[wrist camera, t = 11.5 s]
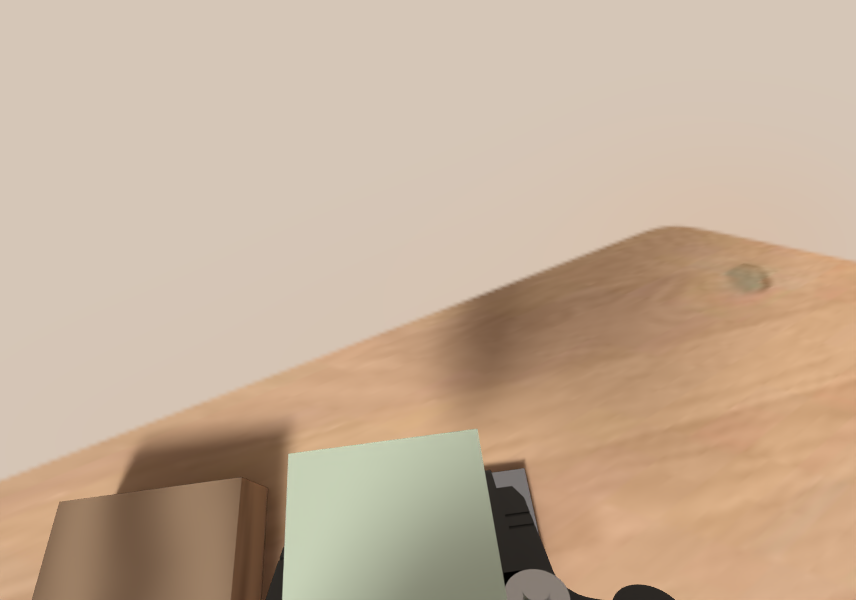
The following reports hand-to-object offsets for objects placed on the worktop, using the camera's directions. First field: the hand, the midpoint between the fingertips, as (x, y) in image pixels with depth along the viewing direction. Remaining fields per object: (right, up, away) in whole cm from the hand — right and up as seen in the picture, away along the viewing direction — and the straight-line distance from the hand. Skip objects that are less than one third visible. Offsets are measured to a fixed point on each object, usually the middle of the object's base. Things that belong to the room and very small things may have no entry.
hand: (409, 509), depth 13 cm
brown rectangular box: (-14, -11, +13) cm, 22 cm away
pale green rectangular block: (0, -3, +2) cm, 4 cm away
